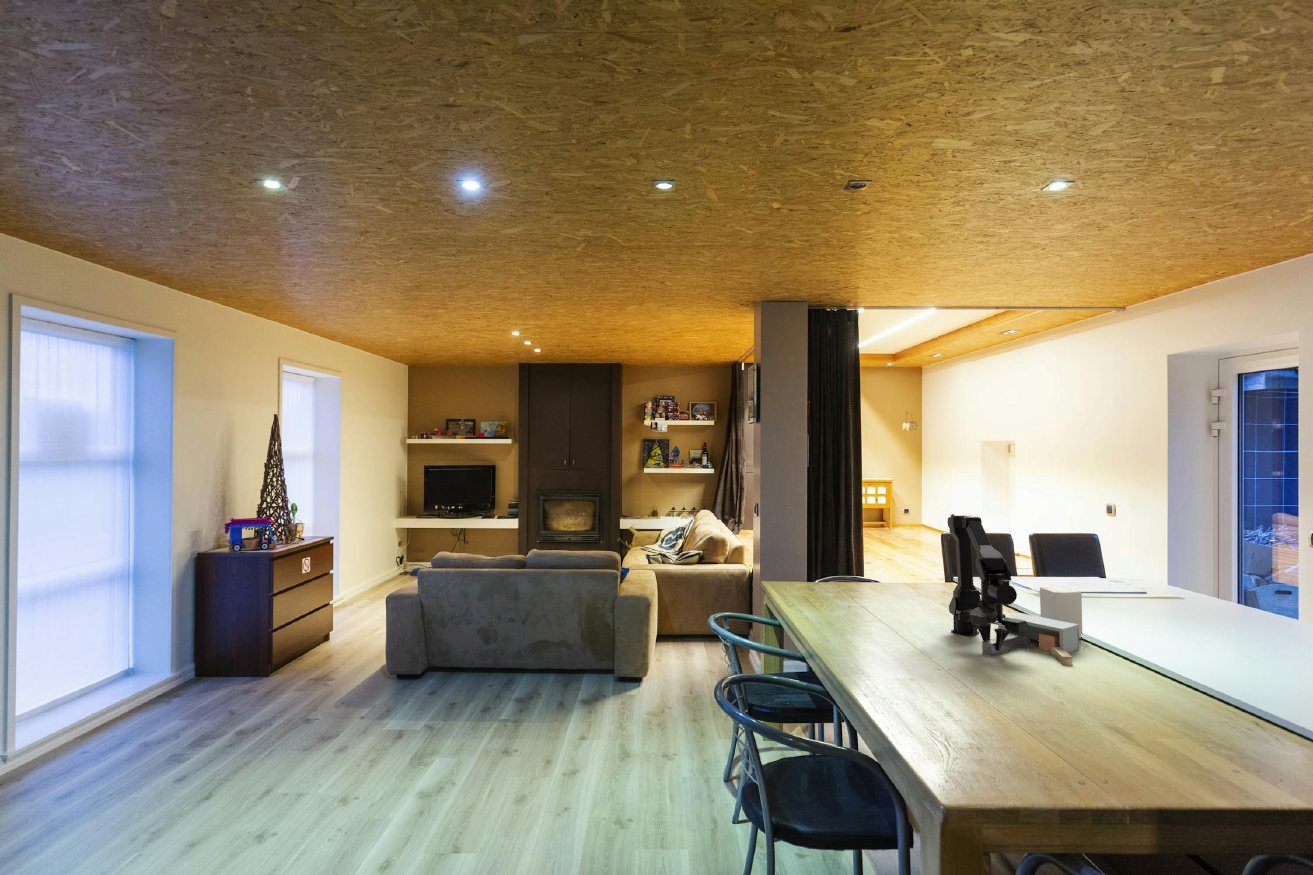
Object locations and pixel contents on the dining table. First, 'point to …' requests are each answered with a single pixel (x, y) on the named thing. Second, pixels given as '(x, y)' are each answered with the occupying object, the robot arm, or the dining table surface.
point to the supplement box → (1061, 605)
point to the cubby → (1050, 630)
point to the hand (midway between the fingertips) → (992, 649)
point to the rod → (1061, 655)
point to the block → (1048, 640)
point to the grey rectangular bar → (1006, 644)
